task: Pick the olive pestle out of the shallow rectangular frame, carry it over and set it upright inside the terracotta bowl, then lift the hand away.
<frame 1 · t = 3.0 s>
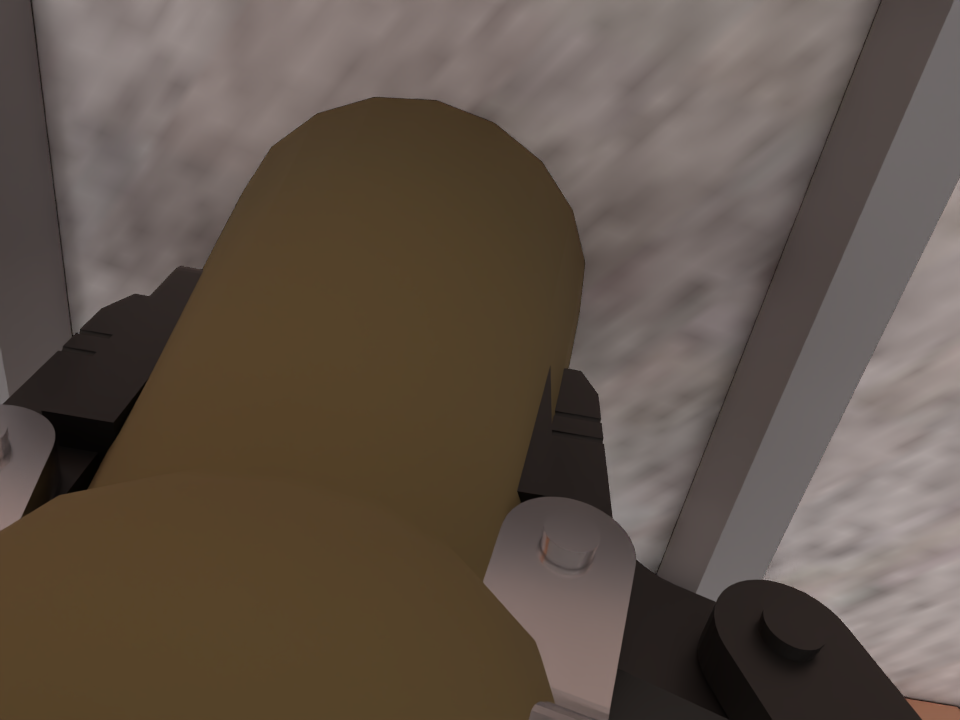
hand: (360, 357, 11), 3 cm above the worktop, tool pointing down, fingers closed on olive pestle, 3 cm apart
olive pestle: (409, 272, 14), resting in rectangular frame, touching gripper
rectangular frame: (406, 278, 14), on the worktop
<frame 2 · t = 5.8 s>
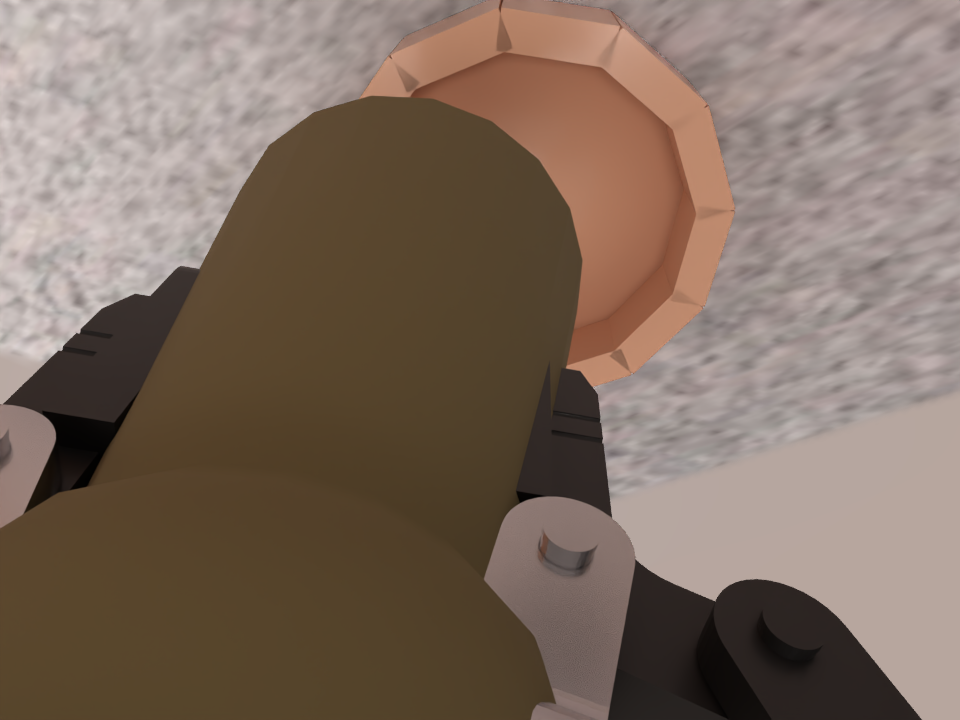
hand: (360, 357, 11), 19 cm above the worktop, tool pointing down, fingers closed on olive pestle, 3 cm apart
olive pestle: (406, 271, 14), point 16 cm above the worktop, touching gripper
bowl: (523, 195, 29), on the worktop
when the fingers open (5 cm above the worktop, at t = 8.7 s): olive pestle stays where it is, point 1 cm above the worktop.
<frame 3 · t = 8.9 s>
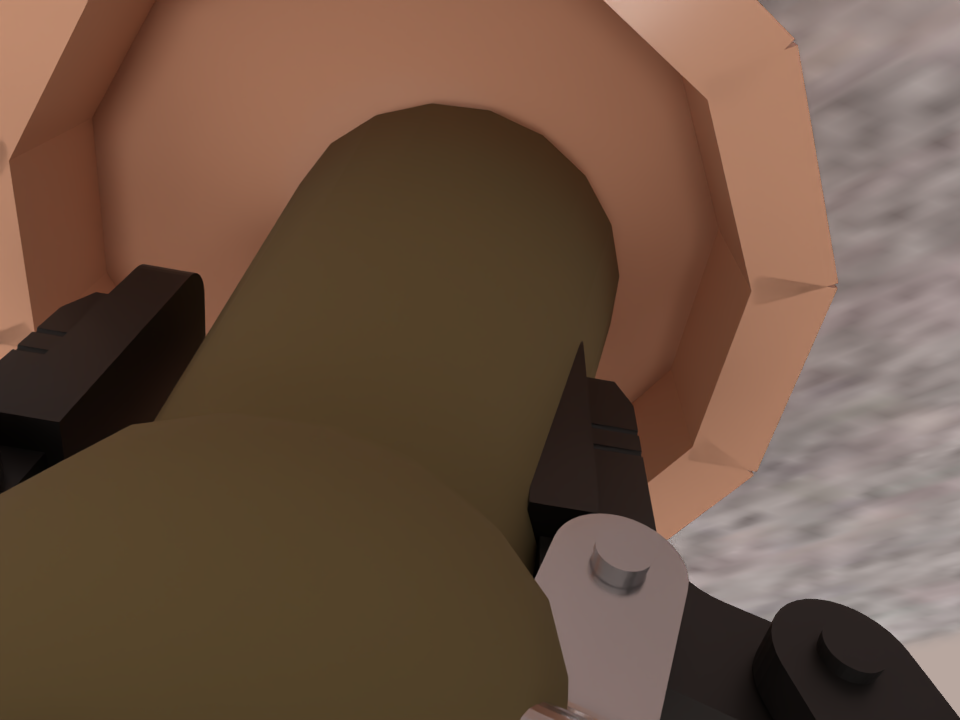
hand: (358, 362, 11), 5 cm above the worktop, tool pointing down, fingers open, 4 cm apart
olive pestle: (449, 273, 14), point 1 cm above the worktop, touching gripper
bowl: (407, 231, 15), on the worktop
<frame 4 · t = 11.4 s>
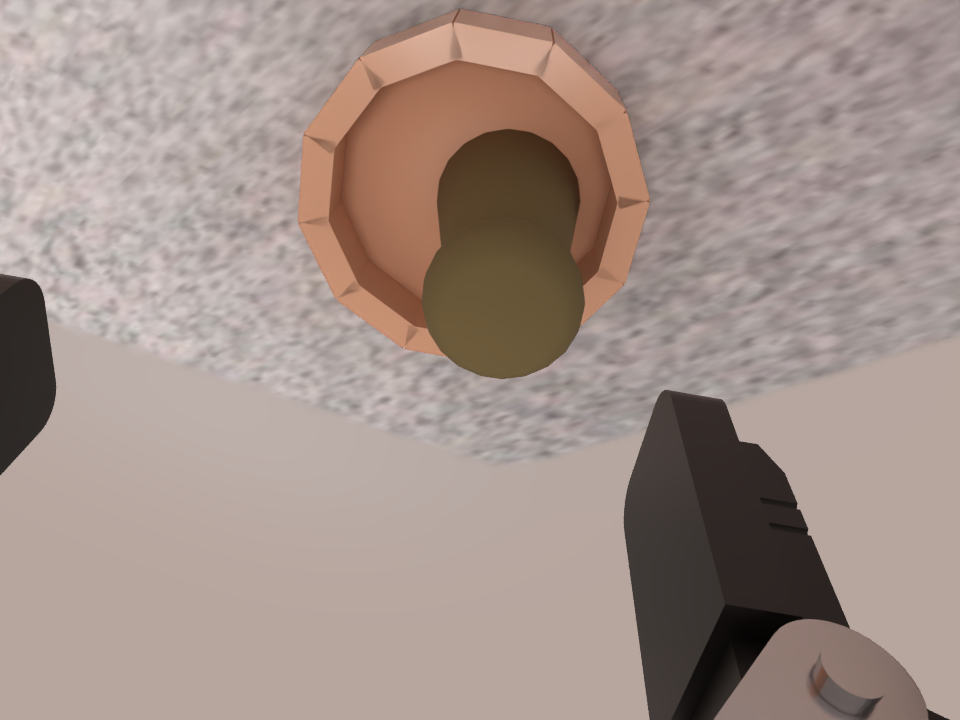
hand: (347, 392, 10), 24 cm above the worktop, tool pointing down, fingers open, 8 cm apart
olive pestle: (508, 199, 33), point 1 cm above the worktop, touching bowl
bowl: (475, 183, 34), on the worktop
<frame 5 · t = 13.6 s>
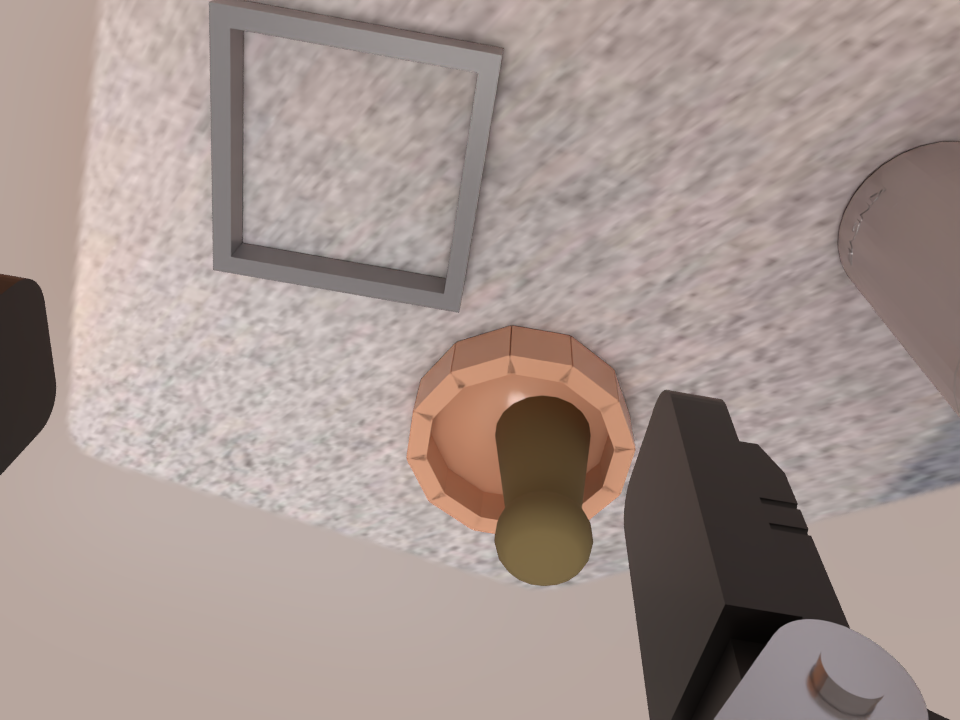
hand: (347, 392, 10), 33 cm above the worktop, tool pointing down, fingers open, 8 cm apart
olive pestle: (542, 433, 50), point 1 cm above the worktop, touching bowl
rectangular frame: (353, 160, 43), on the worktop
bowl: (520, 420, 51), on the worktop
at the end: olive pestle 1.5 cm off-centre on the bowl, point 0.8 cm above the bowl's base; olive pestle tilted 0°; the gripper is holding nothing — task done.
